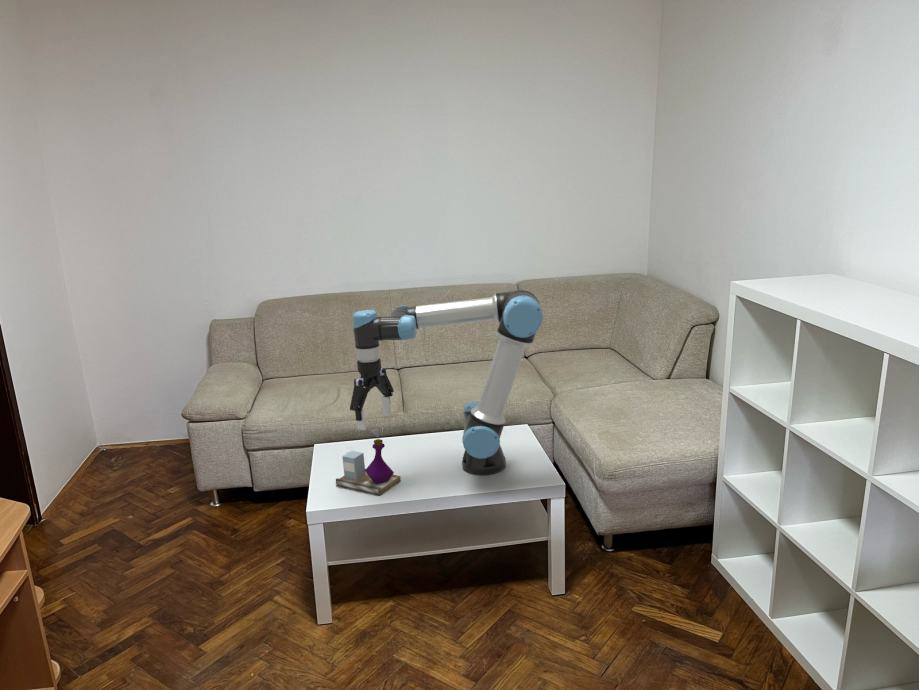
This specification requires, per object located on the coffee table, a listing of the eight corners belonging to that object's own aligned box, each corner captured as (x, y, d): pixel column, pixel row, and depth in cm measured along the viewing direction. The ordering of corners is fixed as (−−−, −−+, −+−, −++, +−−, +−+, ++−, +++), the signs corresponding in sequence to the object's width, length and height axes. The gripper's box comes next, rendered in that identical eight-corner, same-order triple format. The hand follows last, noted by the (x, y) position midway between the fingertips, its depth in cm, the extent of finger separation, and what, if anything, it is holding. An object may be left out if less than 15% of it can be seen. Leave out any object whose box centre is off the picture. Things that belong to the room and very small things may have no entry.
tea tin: (365, 474, 244) (363, 452, 242) (356, 480, 239) (353, 458, 237) (354, 472, 246) (351, 450, 244) (344, 478, 242) (342, 456, 240)
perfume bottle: (395, 481, 237) (390, 430, 232) (373, 487, 233) (368, 435, 229) (386, 474, 243) (381, 423, 239) (365, 479, 240) (360, 428, 235)
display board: (400, 481, 242) (400, 474, 241) (379, 496, 232) (378, 488, 231) (358, 472, 251) (357, 465, 250) (336, 486, 241) (335, 479, 240)
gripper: (382, 348, 240) (387, 408, 245) (334, 369, 219) (341, 434, 225) (400, 350, 236) (406, 411, 242) (353, 371, 216) (360, 437, 221)
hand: (374, 422), depth 233 cm, fingers open, 13 cm apart
